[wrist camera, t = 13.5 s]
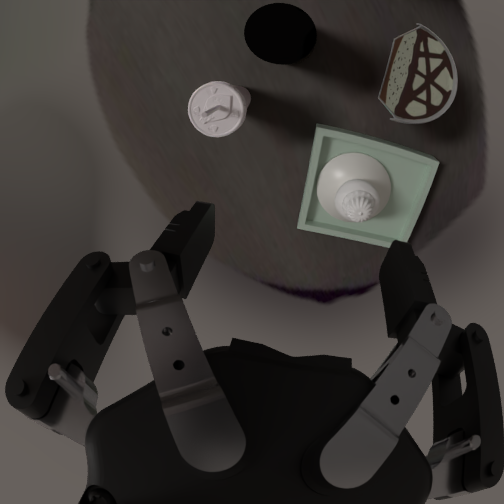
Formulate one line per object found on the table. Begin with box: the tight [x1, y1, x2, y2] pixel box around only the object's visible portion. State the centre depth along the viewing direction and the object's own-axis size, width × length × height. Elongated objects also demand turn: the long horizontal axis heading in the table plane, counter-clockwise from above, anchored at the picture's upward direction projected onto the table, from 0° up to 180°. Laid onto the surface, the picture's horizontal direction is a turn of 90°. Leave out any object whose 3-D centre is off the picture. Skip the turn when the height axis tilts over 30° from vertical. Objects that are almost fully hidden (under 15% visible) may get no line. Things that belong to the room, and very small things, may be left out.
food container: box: [378, 23, 458, 124], centre depth 22 cm, size 12×6×10 cm, turn 170°
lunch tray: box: [297, 123, 439, 248], centre depth 37 cm, size 16×18×2 cm
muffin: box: [334, 178, 380, 222], centre depth 34 cm, size 6×6×7 cm
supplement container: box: [244, 3, 317, 64], centre depth 23 cm, size 7×7×10 cm
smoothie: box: [188, 81, 251, 137], centre depth 28 cm, size 6×6×14 cm
